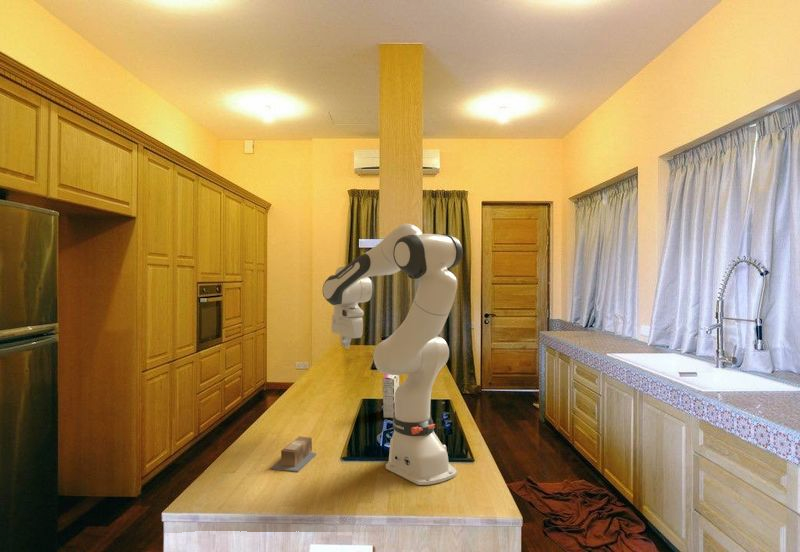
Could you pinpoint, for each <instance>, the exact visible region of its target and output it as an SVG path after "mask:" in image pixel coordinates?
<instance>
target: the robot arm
mask: <svg viewBox="0 0 800 552" xmlns="http://www.w3.org/2000/svg"><path fill="white" fill-rule="evenodd" d="M462 246H463V245H462V243H461V242H460V240H459V239H458V238H457V237H455V236H453V235H450V234H446V233H442V234H436V233H423V232H422V231H421V229H420V228H419V227H418V226H416V225H415V224H412V223H403V224H401V225H399V226H397V227H396V228H395V229H393V230H392V231H391V232H389V233H388V234H387V235H386V236H385V237H384V238H383V239H382V240H381V241H380V242H379V243H377V244H376V245H375V246H374V247H372V248H371V249H369V250H368V251H366V252H364V253H361V254H360V255H359V256H357V257H356V258H354V259H353V260H352V261H351V262H349V263H348V264H347V265H346V266H341V267H338V268H337V269H335V273H334V274H333V275H329V276H328V277H327V279H325V281H324V282H323V285H322V295H323V297H324V299H325V300H326V301H327V303H329V304H330V305H331V306H333V314H332V318H331V332H332V333H334V334H337V335H340V340H341V343H342V347H343V348H345V349H350V347H351V343H352V339H360V338H362V336H363V329H364V323H363V322H364V320H363V317H364V314H365V312H364V310H363V309H362V308H361V307H360V306H359V304H361V303H367V302H369V301H371V300H372V298H373V296H374V293H375V284H374V281H373V280H372V279H371V278H370V277H377V276H378V277H380V276H390V275H391V276H392V275H394V274H396V273H398V272H401V271H402V272H403V273H404V274H406V275H407V276H408V278H409V279H411V280H418V288H417V290H416V292H415V295H414V298H413V301H412V304H411V305H410V307H409V310H408V313H407V315H406V317H405V319H404V320H403V322H402V323H401V324H400V325H399V326H398V328H396V330H395V331H394V332H392V334H391V335H390V336H388V337H386V338H385V339H384V340H382V341H381V342H378V343H377V345H376V346H375V348H374V351H373V355H372V356H373V362H374V366H375V368H376V370H377V371H378V372H379V373H381V374H382V375H387V374H388V375H399V376H401V375H406V374H407V376H406V378H405V380H404V382H403V383H401V384H399V387H398V388H397V390H396V392H395V416H394V417H393V418H392V428H393V433H392V436H391V437H390V441H389V450H388V451H389V454H388V461H387V463H386V464H385V469H386V470H388V471H390V472H391V473H393V474H396V475H398V476H399V477H401V478H404V479H406V480H408V481H410V482H412V483H413V484H416V485H419V486H429V485H434V484H439V483H443V482H445V481H448V480H450V479H452V478H454V477H456V476H457V474H458V471H457V468H455V467H454V466H453V465H451V463H450V462H449V456H448V455H449V454H448V451H447V450H448V449H447V446H446V444H443V443H442V442H441V441H440V438H439V437H438V435H437V434H436V433H435V428H436V423H434V421H433V418H432V415H431V398H432V389H433V385H434V382H435V380H436V379H437V376H438V374H439V372H440V371H441V369H443V367H444V366H445V365H446V364H447V362H448V360H449V358H450V348H449V345H448V343H447V342H446V340H445V339H444V338H443V337H440V336H439V335H440V334H441V332H442V331H443V329H444V326H445V324H446V322H447V319H448V317H449V315H450V312H451V310H452V308H453V305H454V303H455V302H454V301H455V298H456V293H457V288H458V279H457V277H456V276H455V274H454V273H452V271H450V270H451V269H453V268H455V267H457V266H458V265H459V264H460V262H461V261H462V259H463V247H462Z"/></svg>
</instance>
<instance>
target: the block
mask: <svg viewBox="0 0 800 552" xmlns="http://www.w3.org/2000/svg"><path fill="white" fill-rule="evenodd" d="M312 440H313V439H312V437H311V436H300V435H299V436H298V437H296V438H295V439H294V440H292V441H291V442H290V443H289V444H287V445H286V446H285V447H283V448H282V449H281V450H280V453H281V454H280V456H281V457H280V460H281V465H284V466H293V467H295V466H296V465H297V464H298V463H299V462H300V461H302V460H303V459H304V458H305V457H306V456H307V455H308V454H309V453H312V451H313V448H312V447H313V441H312Z"/></svg>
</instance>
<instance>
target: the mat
mask: <svg viewBox="0 0 800 552" xmlns="http://www.w3.org/2000/svg"><path fill="white" fill-rule="evenodd" d="M316 455H317V453H315V452H310V453H309V454H308V455H307V456H306V457H305V458H304V459H303V460H302V461H300V462H299V463H298V464H297V465H296V466H295V467H293V466H284V465H281V459H280V460H277V462H275V464H273V465H272V466H271V467H270V470H274V471H275V470H276V471H285V472H294V473H299V472H300V471H301V470H302V469H303V468H304V467H305V466H306V465H307V464H308V463H310V461H312V460H313V458H315V457H316Z"/></svg>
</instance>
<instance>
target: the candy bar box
mask: <svg viewBox="0 0 800 552" xmlns="http://www.w3.org/2000/svg"><path fill="white" fill-rule="evenodd" d="M399 386H400V375H388V374H385V376H384V377H382V408H383V409H382V410H383V411H382V412H383V413H382V415H383V418H384V419H393V417H394V416H395V392H396V390H397V388H398V387H399Z"/></svg>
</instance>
